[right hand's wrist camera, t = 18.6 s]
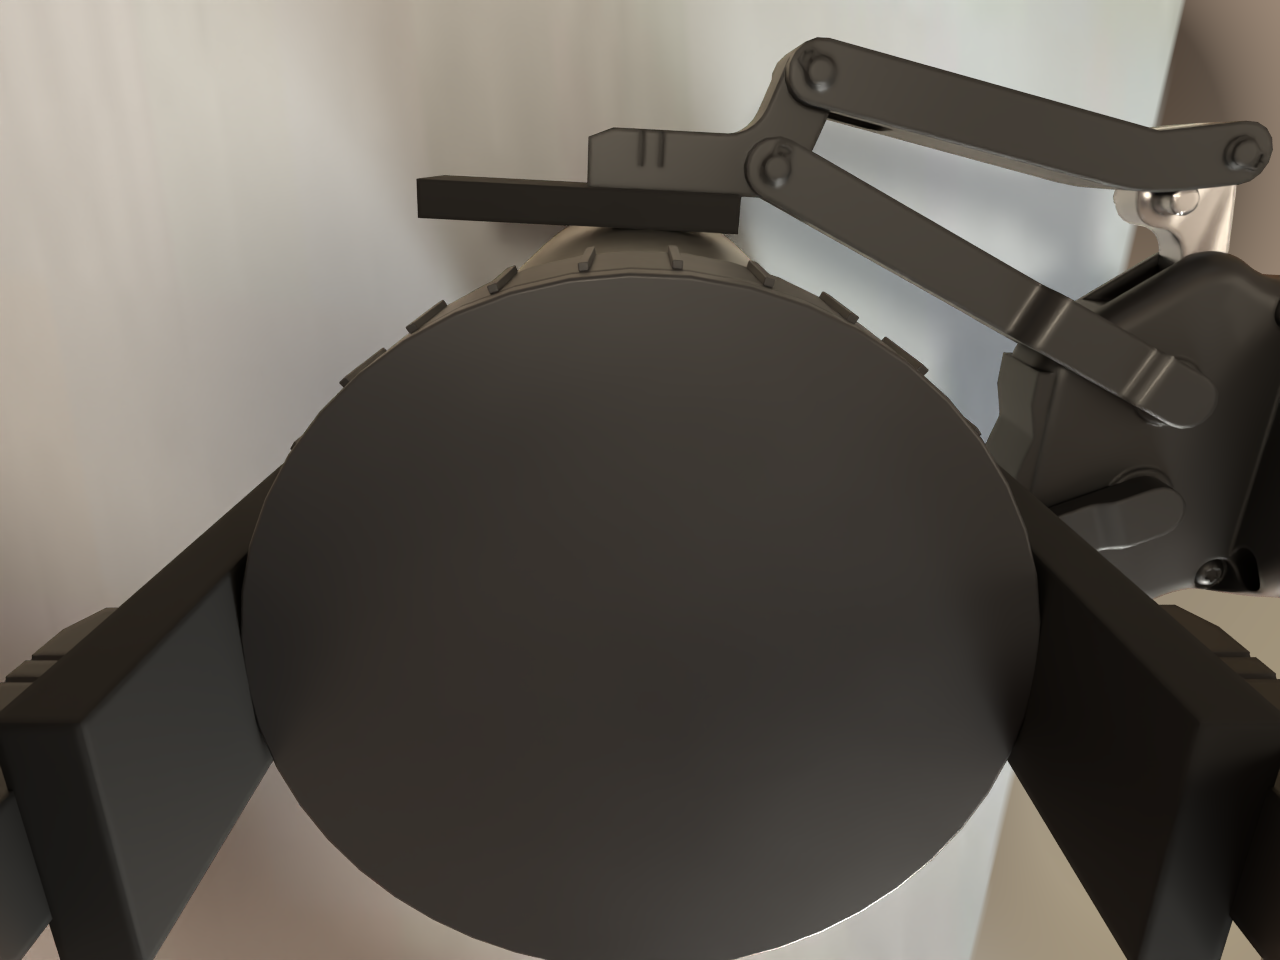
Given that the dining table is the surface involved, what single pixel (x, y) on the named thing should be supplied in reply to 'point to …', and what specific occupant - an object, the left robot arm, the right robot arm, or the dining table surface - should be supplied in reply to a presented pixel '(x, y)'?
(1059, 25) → the dining table surface
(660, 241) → the jar
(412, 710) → the lid
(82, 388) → the dining table surface
